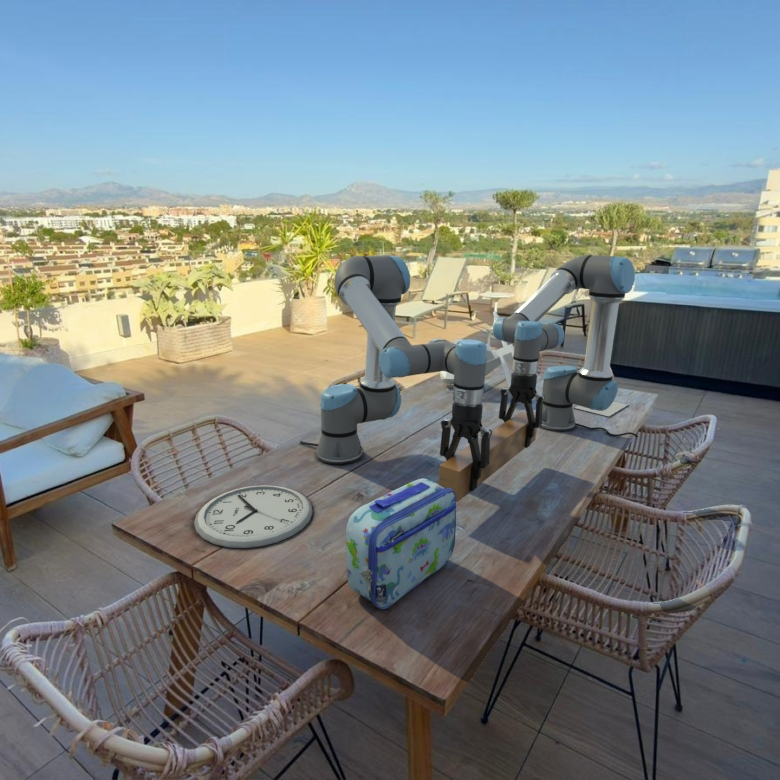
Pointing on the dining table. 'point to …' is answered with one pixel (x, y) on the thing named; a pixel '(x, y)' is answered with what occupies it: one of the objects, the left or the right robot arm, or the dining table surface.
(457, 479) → the post
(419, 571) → the lunch box
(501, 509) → the dining table surface
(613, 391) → the right robot arm
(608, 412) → the invitation card
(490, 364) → the white plastic object
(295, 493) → the wall clock
